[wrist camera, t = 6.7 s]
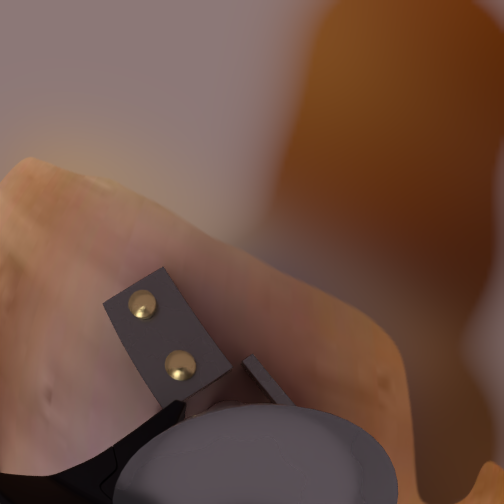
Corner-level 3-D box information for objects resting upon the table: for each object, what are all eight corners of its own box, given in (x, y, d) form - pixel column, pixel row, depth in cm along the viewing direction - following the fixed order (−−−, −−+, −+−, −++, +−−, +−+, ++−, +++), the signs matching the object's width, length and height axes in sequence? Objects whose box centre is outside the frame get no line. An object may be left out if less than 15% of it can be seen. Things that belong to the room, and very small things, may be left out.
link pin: (273, 450, 14) (403, 553, 2) (203, 463, 13) (165, 608, 1) (258, 388, 17) (372, 367, 4) (188, 400, 16) (82, 417, 3)
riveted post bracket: (366, 486, 13) (386, 495, 10) (282, 547, 10) (291, 565, 7) (186, 270, 20) (181, 250, 18) (98, 323, 17) (81, 311, 15)
